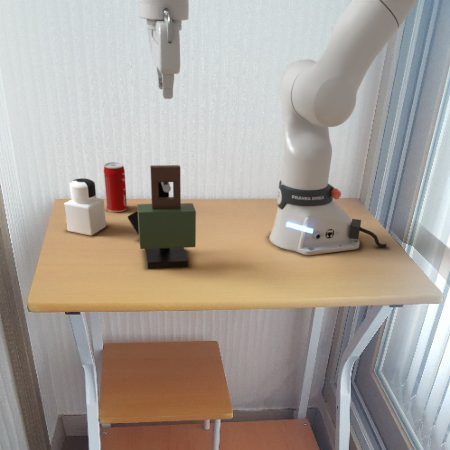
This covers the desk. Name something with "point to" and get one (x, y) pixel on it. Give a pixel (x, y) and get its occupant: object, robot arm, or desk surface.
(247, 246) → the desk surface
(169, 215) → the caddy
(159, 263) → the peg stand
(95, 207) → the medicine bottle
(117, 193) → the soda can
